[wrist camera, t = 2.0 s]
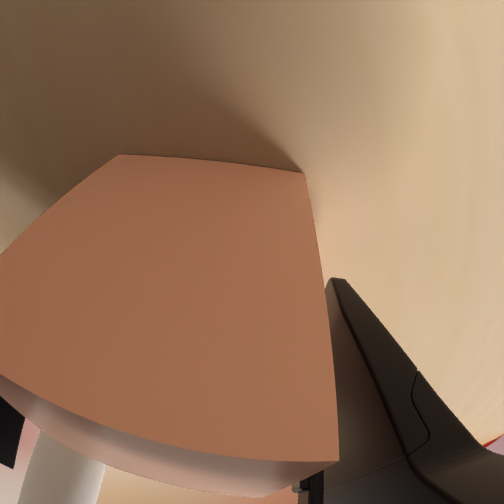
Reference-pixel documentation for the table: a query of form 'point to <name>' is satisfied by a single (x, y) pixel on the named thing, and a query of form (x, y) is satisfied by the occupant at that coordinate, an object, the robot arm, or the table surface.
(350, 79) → the table surface
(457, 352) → the table surface
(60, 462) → the travel mug
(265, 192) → the pink foam cube
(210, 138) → the table surface
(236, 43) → the table surface
